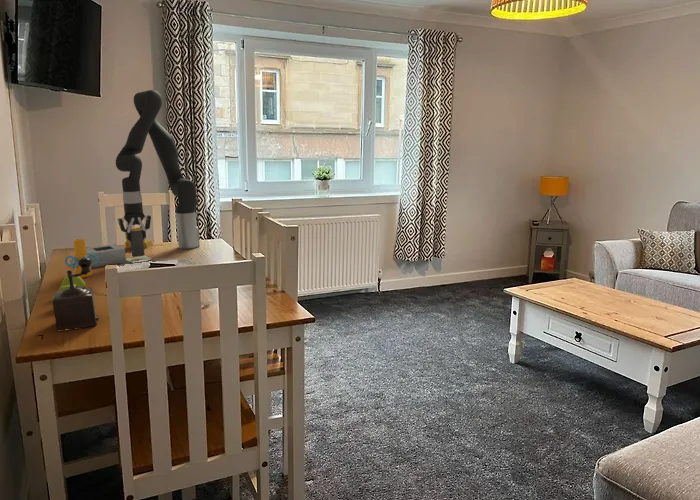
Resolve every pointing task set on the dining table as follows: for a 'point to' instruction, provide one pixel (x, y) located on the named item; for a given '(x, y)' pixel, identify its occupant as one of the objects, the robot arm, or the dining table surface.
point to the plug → (137, 242)
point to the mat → (137, 258)
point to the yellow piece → (146, 244)
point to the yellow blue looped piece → (80, 256)
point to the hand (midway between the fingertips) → (136, 239)
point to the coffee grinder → (75, 303)
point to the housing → (107, 254)
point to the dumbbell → (76, 282)
